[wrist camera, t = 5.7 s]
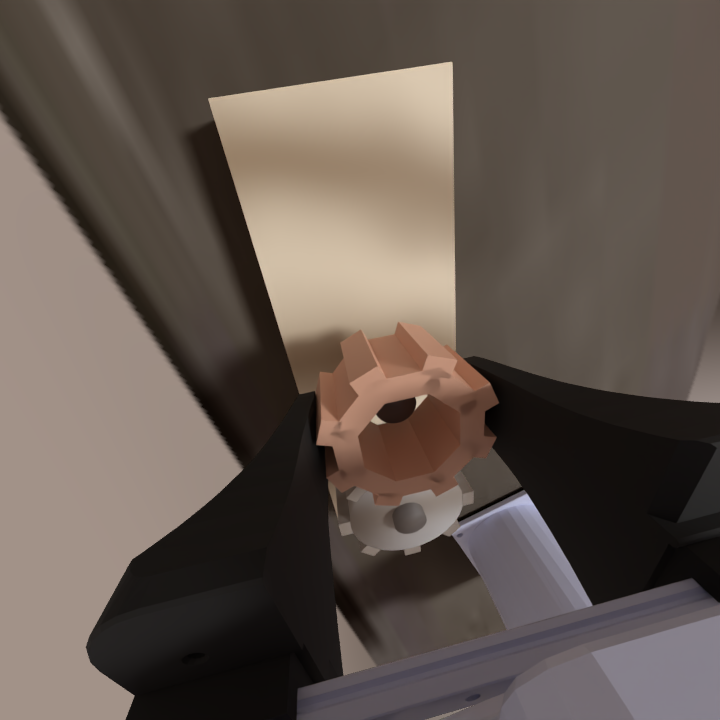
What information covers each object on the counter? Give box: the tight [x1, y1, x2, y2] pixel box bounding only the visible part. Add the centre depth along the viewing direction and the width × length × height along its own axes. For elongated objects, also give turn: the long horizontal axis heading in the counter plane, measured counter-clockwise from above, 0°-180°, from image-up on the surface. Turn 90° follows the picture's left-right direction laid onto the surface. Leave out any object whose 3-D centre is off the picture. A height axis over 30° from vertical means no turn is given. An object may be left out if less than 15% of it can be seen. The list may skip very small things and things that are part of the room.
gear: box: [316, 322, 499, 506], centre depth 10 cm, size 6×6×3 cm
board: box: [208, 62, 474, 556], centre depth 13 cm, size 21×8×5 cm, turn 9°
